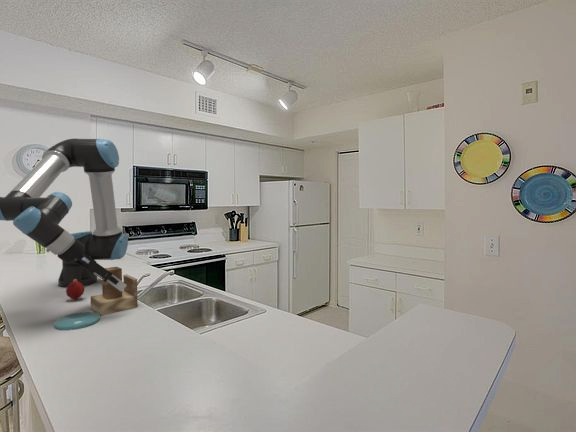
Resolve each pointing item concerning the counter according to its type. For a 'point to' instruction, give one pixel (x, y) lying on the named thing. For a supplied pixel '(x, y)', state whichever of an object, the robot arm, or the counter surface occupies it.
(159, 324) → the counter surface
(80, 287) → the onion
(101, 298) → the ledge
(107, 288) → the block
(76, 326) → the teal flattened ellipsoid
